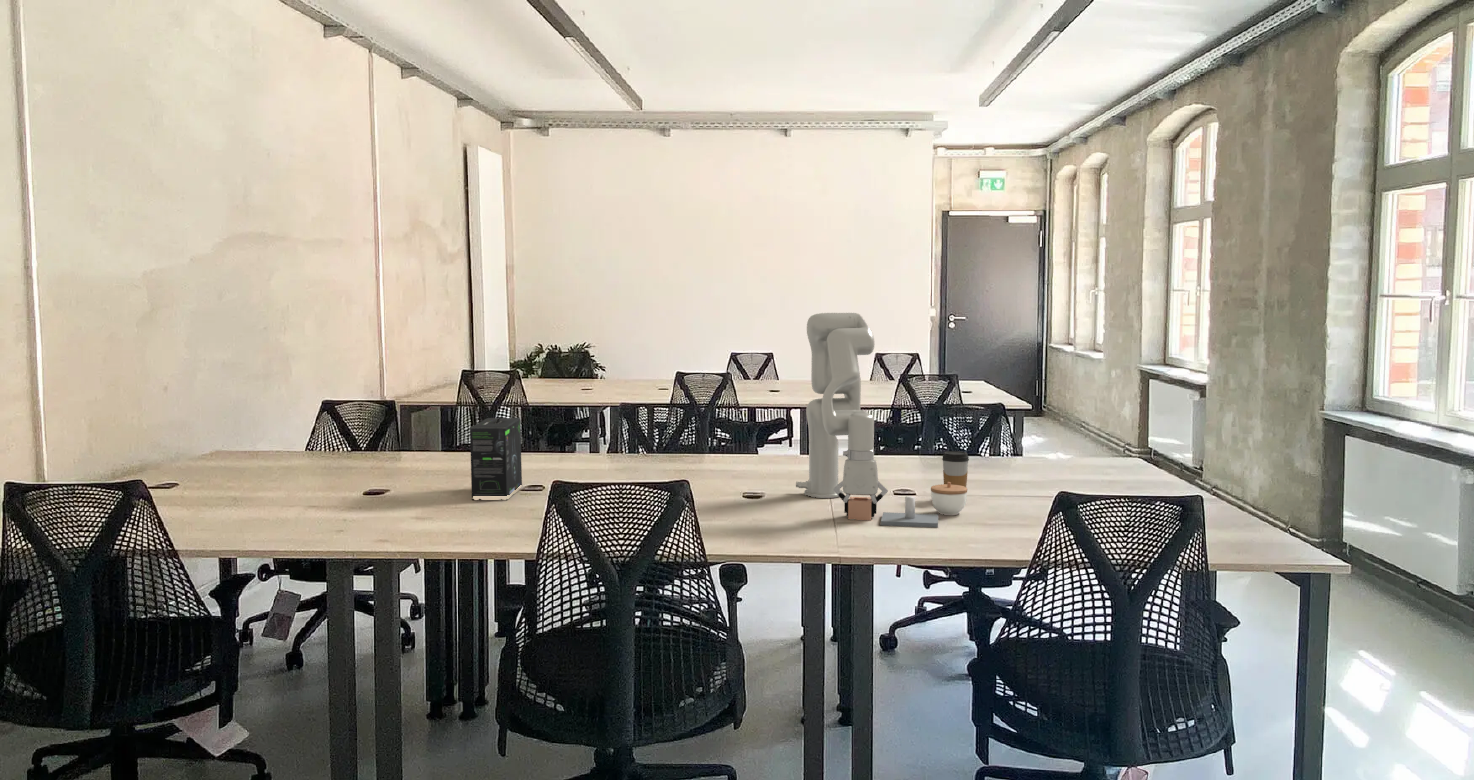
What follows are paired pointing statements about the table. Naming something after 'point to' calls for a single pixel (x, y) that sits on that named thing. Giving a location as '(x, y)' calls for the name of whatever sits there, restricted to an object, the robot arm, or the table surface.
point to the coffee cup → (955, 467)
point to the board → (906, 522)
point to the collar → (859, 508)
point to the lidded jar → (948, 498)
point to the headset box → (495, 456)
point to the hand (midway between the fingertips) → (860, 515)
